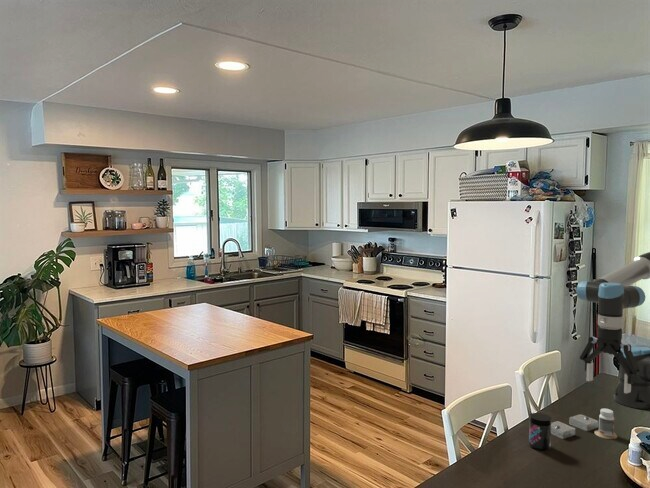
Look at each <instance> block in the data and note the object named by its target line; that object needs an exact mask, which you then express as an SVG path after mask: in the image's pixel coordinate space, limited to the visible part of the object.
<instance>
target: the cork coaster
mask: <svg viewBox="0 0 650 488" xmlns="http://www.w3.org/2000/svg"><path fill="white" fill-rule="evenodd" d="M594 435H596V436H597V437H599V438H600V439H601V438H602V439H604V440H616V439H617V438H618V435H617V434H616V433H615V432H614V435H613V436H605V435H602V434H600V433H599V429H596V430H594Z"/></svg>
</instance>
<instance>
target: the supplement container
mask: <svg viewBox="0 0 650 488" xmlns="http://www.w3.org/2000/svg"><path fill="white" fill-rule="evenodd" d="M551 423H552V417H551V415H548V414H545V413H541V412H532V413H530V414H529V425H528V426H529V432H528V444H529V446H530V447H531V449H534V450H537V451H538V452H539V451H541V452H546V451H547V452H548V451H549V450H550V449H551V445H552V444H551V443H552V442H551V439H552V437H551V436H552V434H551Z"/></svg>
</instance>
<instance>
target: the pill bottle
mask: <svg viewBox="0 0 650 488" xmlns="http://www.w3.org/2000/svg"><path fill="white" fill-rule="evenodd" d="M599 411H600V414H599V415H598V417H599V418H598V430H599V433H600V434H602V435H605V436H613V435H614V433H615V416H614V411H613V410H612V409H609V408H605V407H604V408H600V410H599Z"/></svg>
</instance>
